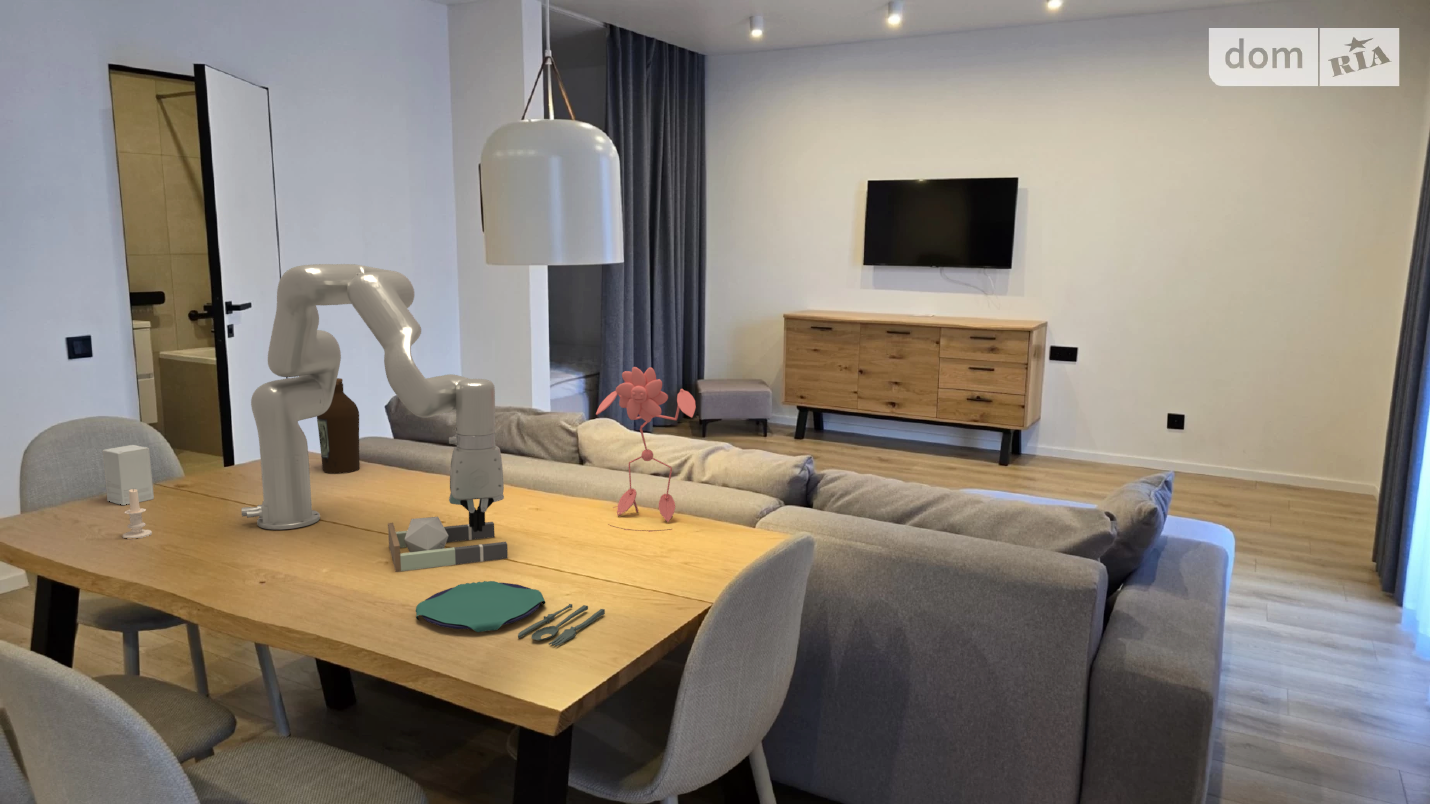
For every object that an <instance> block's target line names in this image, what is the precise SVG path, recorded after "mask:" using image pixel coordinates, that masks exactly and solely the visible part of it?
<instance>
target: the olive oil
mask: <svg viewBox="0 0 1430 804" xmlns="http://www.w3.org/2000/svg"><path fill="white" fill-rule="evenodd" d="M316 421H317V428H318V430H317V431H318V437H319V438H318V439H319V445H320V447H319V448H320V455H321V467H322V468H321V469H322V472H324V473H326V474H347V473H352V472H355V471H356V472H357V471H358V470H359V469H360V467H361V466H360V465H361V464H360V462H361V460H360V412H359V408H358V406H357V404H356V403H355V402H354V401H353V400H352V399H351V398H350V397H349V396H348V395H347V394H346V393H345V392H344V383H343V378H340V377H339V378H338V377H337V381H336V385H335V390H334V394H333V399H332V402H331V405H330V407H329V408H328V410H327V411H326V412H325V413H323V414H322V415H319V416H316Z"/></svg>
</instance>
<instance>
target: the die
mask: <svg viewBox="0 0 1430 804" xmlns="http://www.w3.org/2000/svg"><path fill="white" fill-rule="evenodd" d="M444 527H445V526H444V524H443V523H442V521H441V519H440V517H439V516H431V517H418V518H411V519H410V522H409V525H408V528H407V530H406V531H407V533H406V536H405V539H404V542H405V544H406V546H407V547H406V548H407V550H408V553H409V552H418V551H427V550H436V549H445V547H446V544H447V543H446V542H447V539H448V534H447V532H446V530H445V528H444Z"/></svg>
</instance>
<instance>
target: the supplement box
mask: <svg viewBox="0 0 1430 804" xmlns="http://www.w3.org/2000/svg"><path fill="white" fill-rule="evenodd" d="M101 452H102V462H103V471H104V472H103V473H104V478H105V487H106V500H107V502H109V501H110V502H109V503H114V504H116V505H120V504H121V506H127V505H130V500H129V490H131V489H137V491H138V498H139V503H142V502H146V501H151V500H154V499H155V498H154V497H155V496H154V484H153V475H152V465H151V455H150V453H151V452H150V448H149V447H146V446H145V447H144V446H141V445H136V444H129V445H123V446H118V447H112V448H111V447H110V448H107V449H102V451H101ZM126 504H127V505H126Z"/></svg>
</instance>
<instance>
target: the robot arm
mask: <svg viewBox="0 0 1430 804" xmlns="http://www.w3.org/2000/svg"><path fill="white" fill-rule="evenodd" d="M276 290H277V291H276V311H275V315H274V321H273V325H272V331H271V336H270V340H269V347H268V352H267V365H268V368H269V370H270V371H271V373H273V374H274V375H275V376H278V377H281V378H282V377H283V378H282V379H276V380H270V381H268V382H266V383H263V384H261V385H260V386H259V387H257V388H256V389H255V390H254V392H253V393H252V395H251V399H250V406H251V412H252V414H253V419H254V421H255V425H256V430H257V435H258V442H259V454H260V467H261V469H260V470H261V482H262V496H263V497H262V498H263V501H262V503H261V504H258V505H257V506H253V507H251V506H247V507H246V506H245V507H241V511H240V512H241V517H246V518H249V519H251V518H256V517H258V518H257V520H256V522H257V523H256V524H257V526H258V527H259V528H261V529H265V530H275V531H276V530H279V531H280V530H290V529H293V530H294V529H298V528H303V527H307V526H310V525H313V524H315V523H317V522H319V520H320V519H321V515H320V512H319V511H317V510H313V507H312V491H311V488H312V487H311V476H310V475H311V474H310V473H311V472H310V459H309V457H310V456H309V446H308V440H307V436H306V435H305V432H304V431H303V428H301V426H300V424H299V422H300V421H303V420H304V421H305V420H308V419H313V418H317V416H319V415H322V414H323V413H325V412H326V411H327V410H328V408H329V407H330V405H331V402H332V399H333V394H334V390H335V385H336V381H337V378H338V375H339V370H340V366H341V365H340V364H341V359H342V354H341V353H342V352H341V348H340V345H339V342H338V340H337V339H336V338H335V336H334V335H333V334H331V333H330V332H329V331H326V330H322V329H319V324H320V314H319V310H318V307H317V306H338V305H339V306H341V305H352V307H353V308H354V309H355V311H356V312H357V313H358V315H359V316H360V319H362V321H363V322H364V323H365V325H366V327H367V328H368V329H369V330H370V332H371V333H372V335H373V336H374V337H375V339H376V341H378V343H379V345H380V346H381V347H382V349H383V351H384V352H383V353H384V355H383V358H384V359H383V363H384V370H385V376H386V379H387V382H388V384H389V386H390V387H391V389H392V391H393V392H394V394H395V395H396V396H397V398H398V399H399V400H400V402H401V403H402V405H403V406H404V407H405V409H407V410H408V411H409V412H411V413H412V414H413V415H415V416H416V417H419V418H425V419H426V418H432V417H437V416H439V415H442V414H448V413H452V412H455V421H456V423H455V427H456V431H455V434H454V435H453V436H449V437H448V444H450V445H451V444H453V445H455V447H454V448H453V449H452V453H451V454H452V455H451V458H450V471H449V474H450V475H449V491H450V494H449V497H448V501H449V503H450V504H452V505H457V506H458V505H459V506H461V507H463V508H464V509H466V511H468V524H469V527H472V529H473V531H474V532H477V531H479V532H480V531H482V526H485V522H486V512H487V510H488V508H490V507H491V505H493V504H494V503H497V502H500V501H503V500H504V499H505V495H504V489H505V488H504V487H505V486H504V485H505V484H504V470H503V469H504V468H503V467H504V466H503V460H502V453H501V449H500V447H499V446H498V445H496V389H495V383H493V382H492V381H491V380H488V379H485V378H469V377H465V376H463V375H459V374H454V373H453V374H450V373H449V374H444V375H439V376H432V377H427V378H426V377H425V376H424V375H423V373H422V372H421V371H420V369H419V367H418V366H417V365H416V363H415V361H414V359H413V356H412V351H411V350H412V346H413V345H414V344H415V343H416V342H417V341H418V339H420V336H421V334H422V327H421V325H420V323H419V322H418V321H417V319H416V318H415V317H414V315H413V314H412V313H411V311H410V310H409V308H410V307H411V306H412V304H413V302H414V300H415V289H414V286H413V283H412V282H411V281H410V279H409V278H408V276H406V275H404V274H403V273H401V272H399V271H395V270H389V269H384V268H378V267H373V266H368V265H367V266H366V265H362V264H355V263H354V264H353V263H352V264H351V263H350V264H349V263H343V264H342V263H340V264H339V263H337V264H336V263H335V264H333V263H322V264H321V263H319V264H318V263H317V264H316V263H315V264H303V265H302V264H301V265H297V266H294V267H293V266H292V267H291V268H289V269H288V270H286V271H285V272H284V273H283V274H282V276H280V279H279V282H278V285H277V289H276ZM474 500H478V506H477V508H476V507H475V502H474Z"/></svg>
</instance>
